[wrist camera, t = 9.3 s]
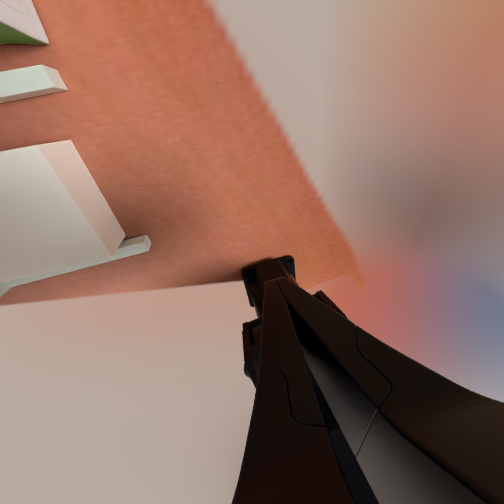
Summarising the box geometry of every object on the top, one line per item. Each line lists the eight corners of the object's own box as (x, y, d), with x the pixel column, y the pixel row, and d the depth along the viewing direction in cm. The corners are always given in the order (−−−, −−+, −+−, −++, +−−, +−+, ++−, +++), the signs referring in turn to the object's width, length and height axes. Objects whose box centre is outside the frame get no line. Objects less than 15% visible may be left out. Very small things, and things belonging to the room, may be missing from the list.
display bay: (151, 243, 20) (139, 274, 16) (12, 279, 19) (-39, 323, 15) (56, 69, 13) (-12, 45, 9) (-180, 113, 12) (-387, 109, 8)
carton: (126, 233, 19) (112, 257, 16) (31, 255, 19) (-5, 284, 15) (72, 139, 15) (36, 144, 12) (-57, 162, 14) (-135, 175, 11)
